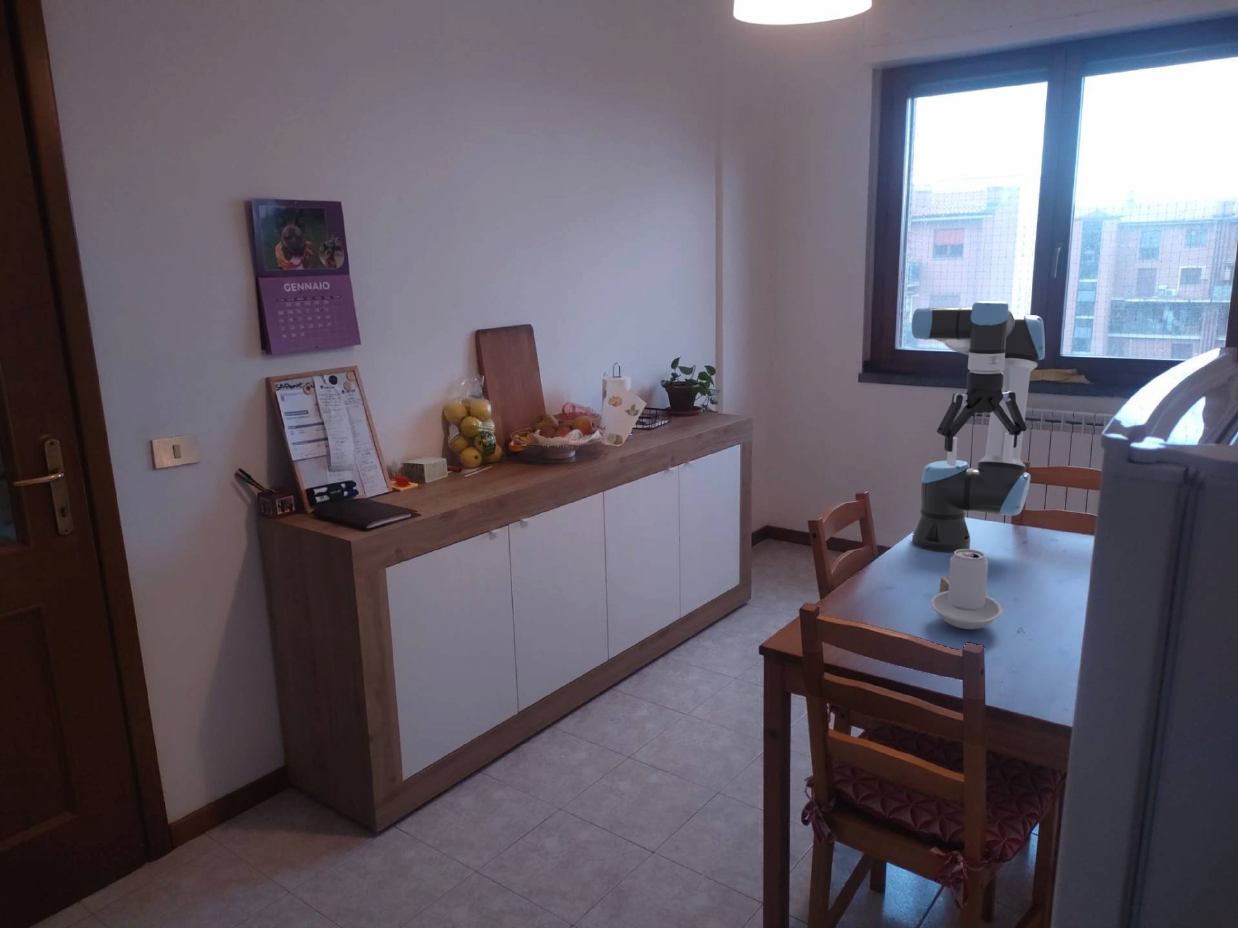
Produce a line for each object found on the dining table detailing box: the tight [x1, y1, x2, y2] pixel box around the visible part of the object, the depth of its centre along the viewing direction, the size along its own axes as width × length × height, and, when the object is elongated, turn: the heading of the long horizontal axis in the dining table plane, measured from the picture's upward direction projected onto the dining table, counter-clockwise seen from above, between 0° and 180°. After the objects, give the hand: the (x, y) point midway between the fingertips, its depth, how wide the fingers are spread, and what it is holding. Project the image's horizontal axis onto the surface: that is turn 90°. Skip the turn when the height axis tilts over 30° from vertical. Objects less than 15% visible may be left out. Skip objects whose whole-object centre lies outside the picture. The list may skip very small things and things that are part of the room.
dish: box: [930, 591, 1003, 630], centre depth 186 cm, size 18×14×5 cm
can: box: [948, 548, 989, 611], centre depth 184 cm, size 8×8×12 cm
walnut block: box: [939, 576, 949, 593], centre depth 203 cm, size 6×5×4 cm
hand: (979, 463), depth 197 cm, fingers open, 13 cm apart
